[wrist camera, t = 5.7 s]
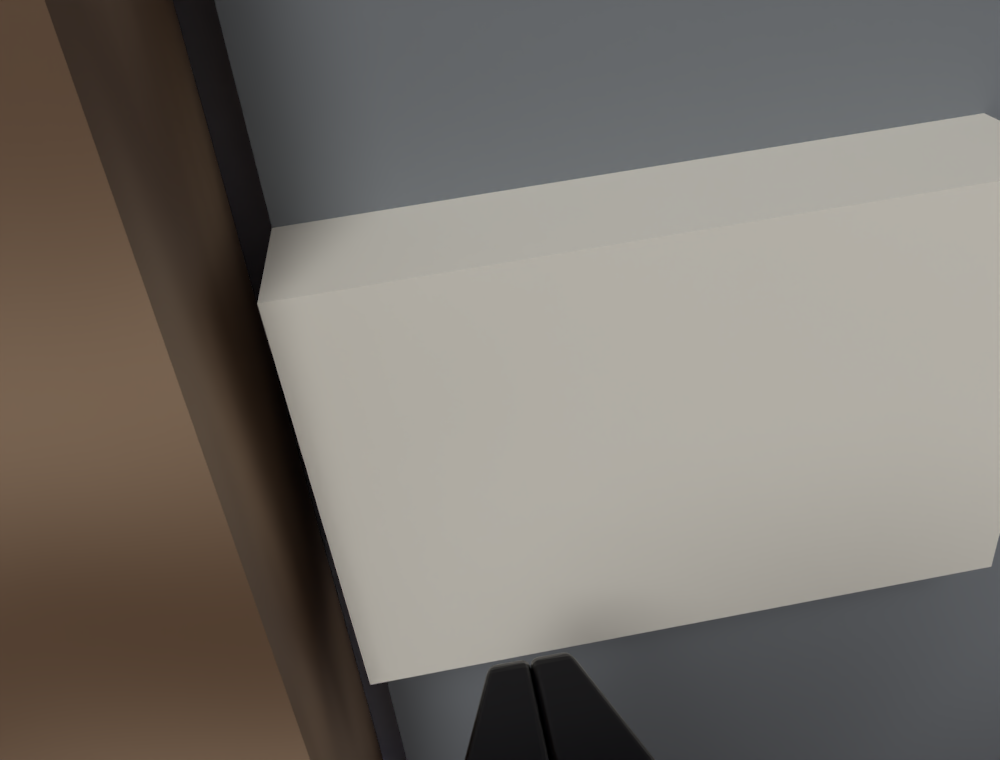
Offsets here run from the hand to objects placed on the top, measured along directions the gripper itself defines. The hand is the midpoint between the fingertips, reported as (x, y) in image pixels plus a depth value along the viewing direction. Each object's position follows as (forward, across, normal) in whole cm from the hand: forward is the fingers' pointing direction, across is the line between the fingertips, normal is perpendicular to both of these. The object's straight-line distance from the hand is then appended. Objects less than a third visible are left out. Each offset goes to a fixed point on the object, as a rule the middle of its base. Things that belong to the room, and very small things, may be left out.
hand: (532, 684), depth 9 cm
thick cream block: (+4, -2, 0) cm, 5 cm away
